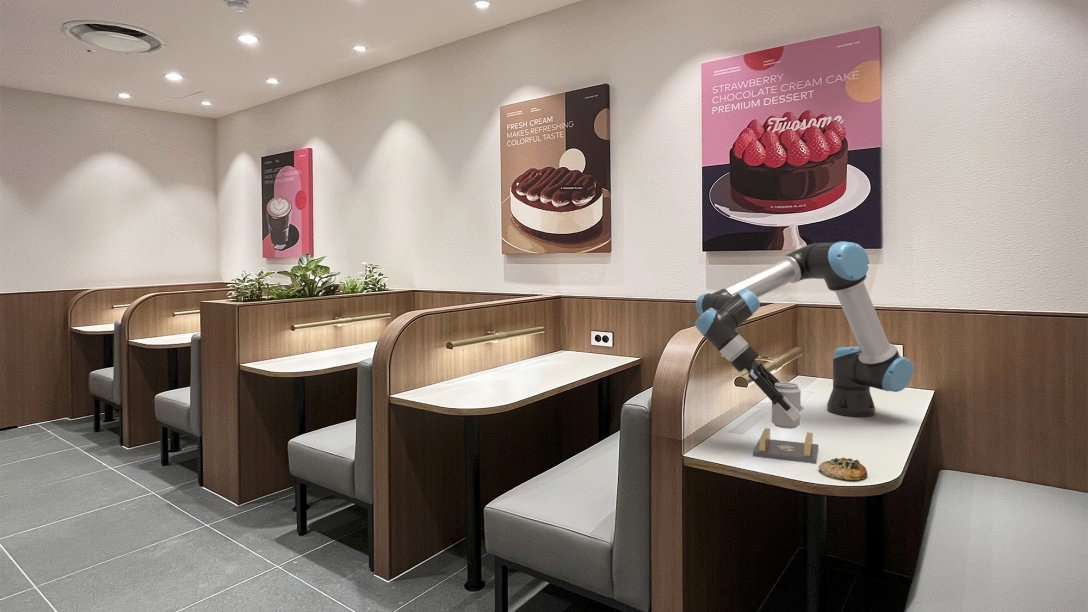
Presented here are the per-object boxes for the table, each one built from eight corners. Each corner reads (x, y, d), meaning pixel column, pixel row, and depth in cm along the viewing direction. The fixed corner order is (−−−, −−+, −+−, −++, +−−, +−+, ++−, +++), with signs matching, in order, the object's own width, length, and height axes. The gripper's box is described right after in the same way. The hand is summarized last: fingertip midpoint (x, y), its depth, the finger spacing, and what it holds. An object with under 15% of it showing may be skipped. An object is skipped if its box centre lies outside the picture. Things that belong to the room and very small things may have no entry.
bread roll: (861, 467, 161) (861, 449, 160) (872, 488, 150) (873, 469, 149) (815, 466, 163) (815, 449, 162) (823, 487, 153) (823, 468, 152)
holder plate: (753, 455, 172) (753, 439, 171) (759, 442, 184) (759, 426, 184) (815, 463, 164) (816, 446, 164) (818, 448, 177) (818, 432, 177)
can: (766, 422, 177) (767, 381, 176) (792, 421, 178) (792, 380, 177) (779, 429, 170) (779, 386, 169) (805, 428, 170) (806, 386, 169)
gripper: (735, 357, 188) (791, 414, 182) (723, 368, 170) (785, 432, 164) (754, 340, 185) (811, 398, 180) (744, 350, 167) (807, 414, 161)
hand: (799, 414), depth 172 cm, fingers closed on can, 7 cm apart
